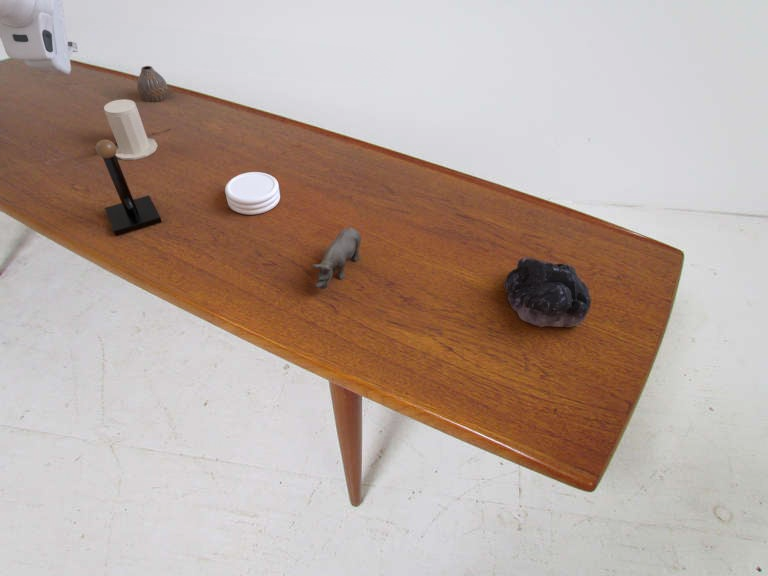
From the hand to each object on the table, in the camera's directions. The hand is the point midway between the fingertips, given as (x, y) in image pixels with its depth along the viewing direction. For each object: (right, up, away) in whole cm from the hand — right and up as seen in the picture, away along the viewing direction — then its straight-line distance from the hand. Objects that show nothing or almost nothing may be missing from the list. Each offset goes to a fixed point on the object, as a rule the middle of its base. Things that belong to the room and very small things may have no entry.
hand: (69, 19), depth 90 cm
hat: (+3, -18, +19) cm, 26 cm away
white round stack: (+32, -32, +6) cm, 46 cm away
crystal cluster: (+83, -51, -11) cm, 98 cm away
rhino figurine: (+49, -46, -7) cm, 68 cm away
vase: (0, -3, +34) cm, 35 cm away
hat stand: (+11, -36, +2) cm, 37 cm away
